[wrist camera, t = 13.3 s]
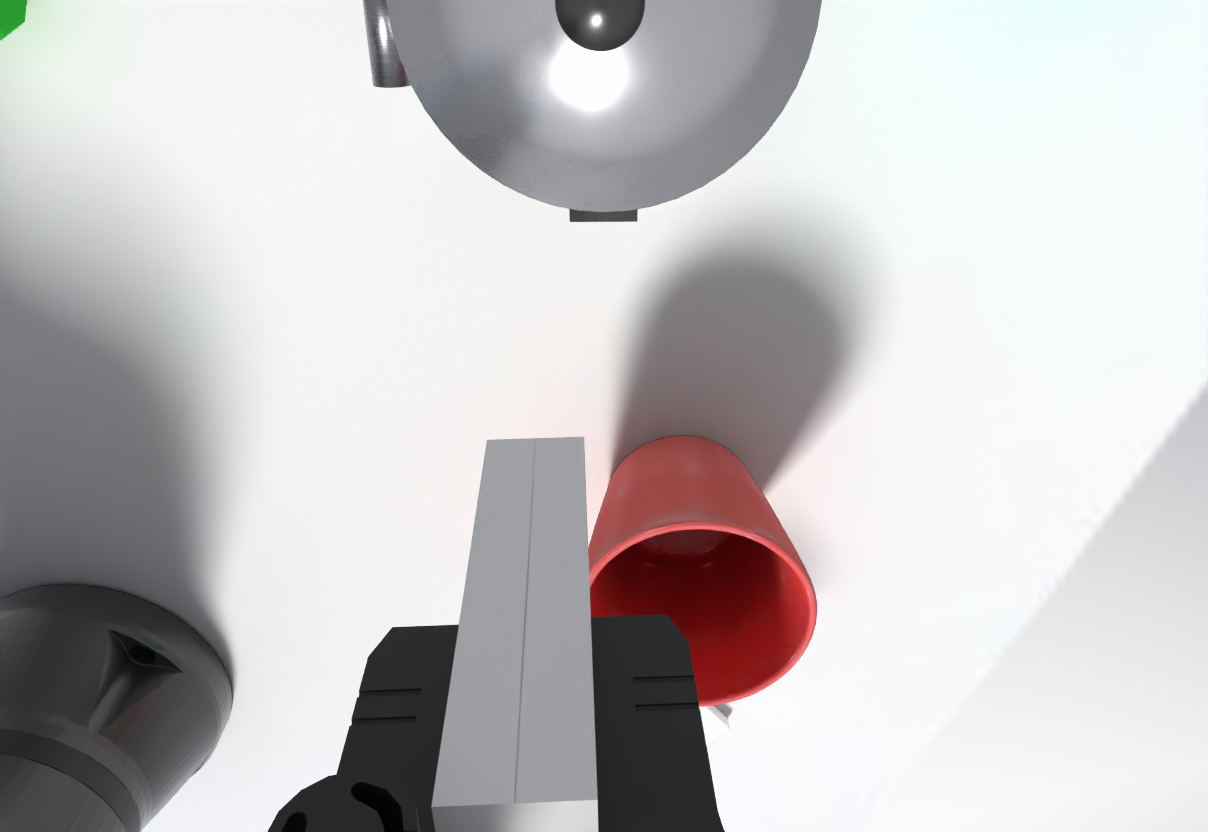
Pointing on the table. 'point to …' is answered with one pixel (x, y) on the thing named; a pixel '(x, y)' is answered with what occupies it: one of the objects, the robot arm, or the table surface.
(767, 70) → the lid
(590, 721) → the robot arm
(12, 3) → the polyhedron
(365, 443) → the table surface
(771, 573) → the flower pot
